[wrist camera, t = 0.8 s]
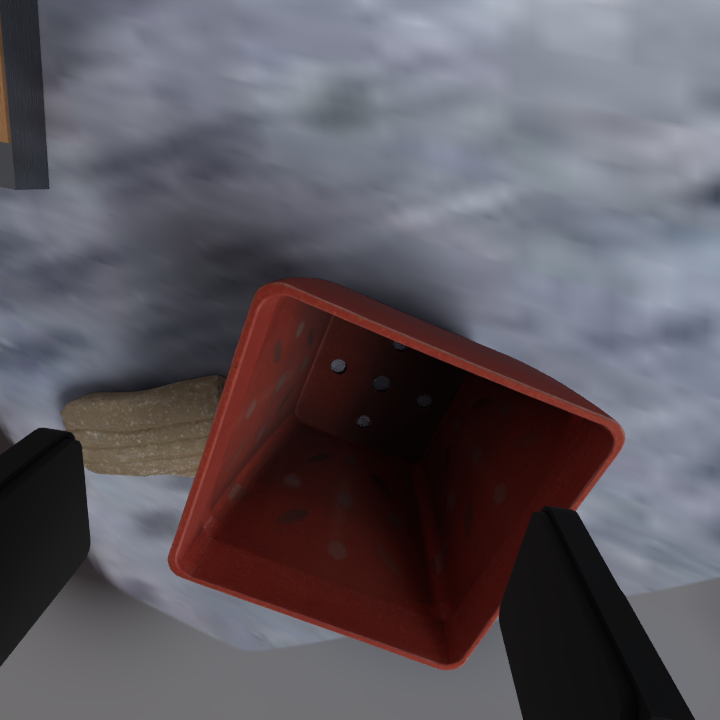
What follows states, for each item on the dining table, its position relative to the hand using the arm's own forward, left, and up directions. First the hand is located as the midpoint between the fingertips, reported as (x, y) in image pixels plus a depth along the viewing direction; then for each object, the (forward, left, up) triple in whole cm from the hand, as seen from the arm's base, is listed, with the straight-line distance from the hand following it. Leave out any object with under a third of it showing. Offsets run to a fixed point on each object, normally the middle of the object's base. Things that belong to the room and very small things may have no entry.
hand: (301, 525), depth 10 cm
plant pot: (+9, +3, -30) cm, 31 cm away
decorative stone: (+17, -16, -30) cm, 38 cm away
